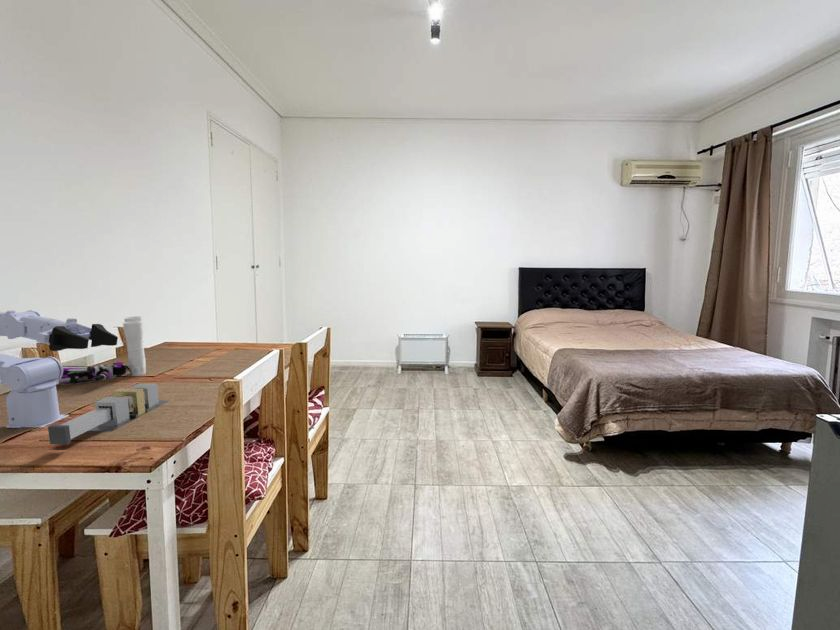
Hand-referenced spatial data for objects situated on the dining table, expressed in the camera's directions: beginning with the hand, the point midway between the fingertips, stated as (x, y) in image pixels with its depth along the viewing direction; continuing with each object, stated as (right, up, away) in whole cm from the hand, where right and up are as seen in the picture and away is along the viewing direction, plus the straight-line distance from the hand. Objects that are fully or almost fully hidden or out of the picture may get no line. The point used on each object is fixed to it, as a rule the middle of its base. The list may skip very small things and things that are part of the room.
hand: (102, 342), depth 103 cm
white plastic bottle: (-26, -13, +54) cm, 62 cm away
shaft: (-2, -19, 0) cm, 19 cm away
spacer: (-1, -19, +11) cm, 22 cm away
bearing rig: (-1, -20, +11) cm, 22 cm away
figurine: (-35, -16, +41) cm, 56 cm away
